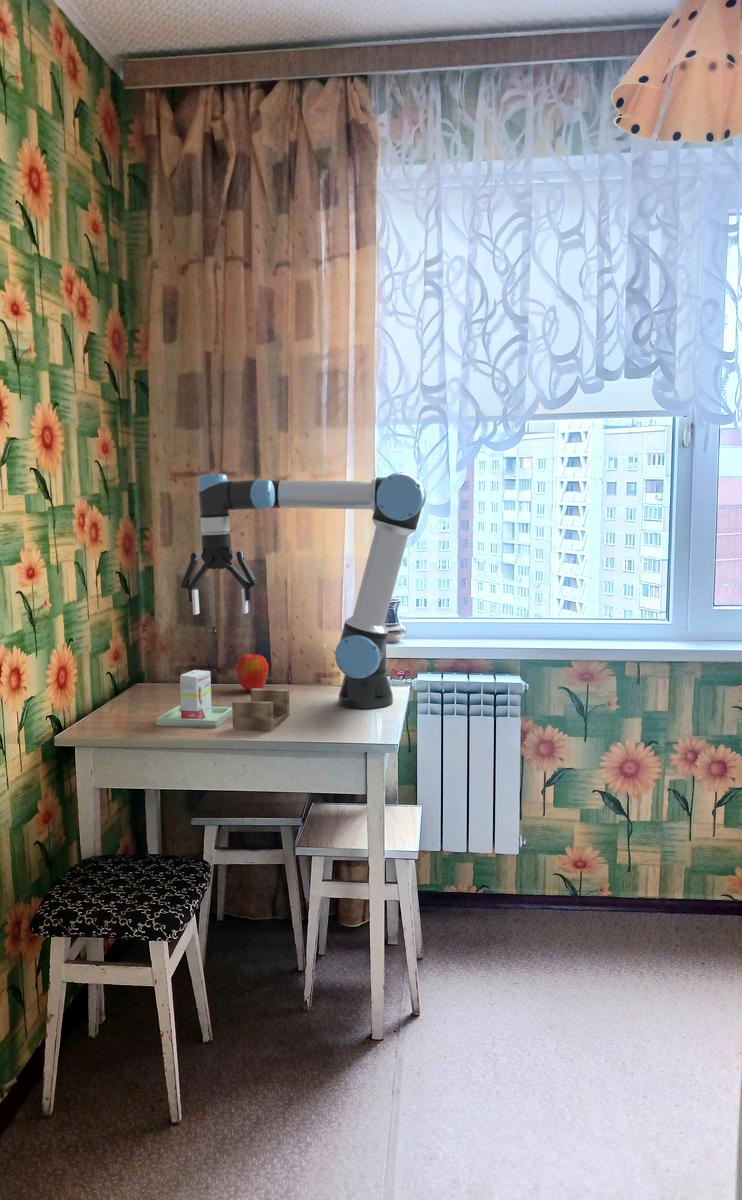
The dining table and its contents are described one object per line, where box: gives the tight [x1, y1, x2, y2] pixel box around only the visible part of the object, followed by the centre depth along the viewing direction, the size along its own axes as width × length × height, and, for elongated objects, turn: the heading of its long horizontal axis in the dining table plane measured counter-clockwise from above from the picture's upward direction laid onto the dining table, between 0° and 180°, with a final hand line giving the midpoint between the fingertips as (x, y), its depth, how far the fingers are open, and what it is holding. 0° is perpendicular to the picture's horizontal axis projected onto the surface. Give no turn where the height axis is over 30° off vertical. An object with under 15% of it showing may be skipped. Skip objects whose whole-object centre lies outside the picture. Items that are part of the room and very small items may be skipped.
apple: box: [236, 652, 269, 693], centre depth 270 cm, size 9×9×12 cm
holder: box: [231, 688, 291, 732], centre depth 235 cm, size 10×16×7 cm, turn 168°
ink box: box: [179, 669, 212, 719], centre depth 238 cm, size 9×5×12 cm, turn 163°
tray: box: [155, 705, 233, 729], centre depth 239 cm, size 16×14×2 cm
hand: (220, 613), depth 242 cm, fingers open, 13 cm apart
